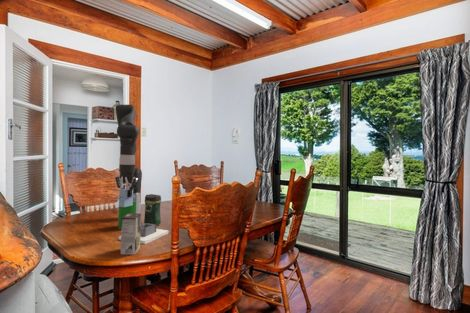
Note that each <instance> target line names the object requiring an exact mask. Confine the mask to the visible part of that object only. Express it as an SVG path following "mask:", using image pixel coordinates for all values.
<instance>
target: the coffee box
mask: <svg viewBox="0 0 470 313" xmlns="http://www.w3.org/2000/svg"><path fill="white" fill-rule="evenodd" d="M141 225H142V213H141V214H137V213H127V214H126V215H125V216H123V217H122V223H121V229H120V233H121V234H120V236H121V240H120V255H136V253H138V251H139V250H140V249H141V243H140V234H141Z"/></svg>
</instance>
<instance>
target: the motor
mask: <svg viewBox="0 0 470 313" xmlns="http://www.w3.org/2000/svg"><path fill="white" fill-rule="evenodd" d="M127 213H136V201H133V205H132V206H127V207H119V206H118V215H117V216H118V218H117V229H119V230H121V223H122V217H123V216H125V215H126V214H127Z"/></svg>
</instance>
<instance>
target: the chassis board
mask: <svg viewBox="0 0 470 313" xmlns="http://www.w3.org/2000/svg"><path fill="white" fill-rule="evenodd" d="M167 235H169V230H167V229H162V228H161V229H160V228H157V226H156V224H148V223H144V222H143V223H141V234H140V245H141V244H142V245H146V244H148V243H151V242H154V241H156V240H158V239H161V237H163V236H167ZM118 240H119V241H121V235H120V236H118Z"/></svg>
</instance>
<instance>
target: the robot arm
mask: <svg viewBox="0 0 470 313" xmlns="http://www.w3.org/2000/svg"><path fill="white" fill-rule="evenodd" d="M115 115H116V120H117V126H118V127H117V128H116V135H117V137H118V138H119V143H120V144H119V145H120V146H119V147H120V148H119V152H120V153H119V159H118V160H119V162H118V163H119V165H118V166H119V168H118V172H119V173H120V174H119V175H118V176H115V178H114V179H115V182H116V186H117V188H118V189H119V190H122V189H128V194H127V197H131V196H132V190H133V196H136V197H133V201H136V213H137V214H141V215H142V203H141V192H142V191H141V190H142V179H143V173H142V169H140V168H137V167H136V155H135V154H136V152H137V139H138V137H139V134H140V130H139V127H138V126H137V125H135V121H136V116H137V114H136V109H135V106H134V105H133V104H117V105H115Z"/></svg>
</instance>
